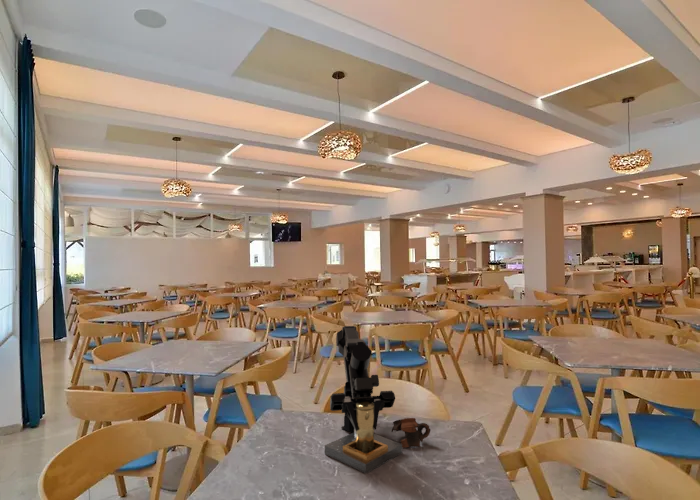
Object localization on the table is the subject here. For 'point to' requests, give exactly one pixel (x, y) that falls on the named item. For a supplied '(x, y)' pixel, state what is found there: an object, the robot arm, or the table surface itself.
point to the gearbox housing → (363, 462)
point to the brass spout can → (365, 427)
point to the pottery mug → (411, 431)
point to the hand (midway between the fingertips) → (366, 429)
